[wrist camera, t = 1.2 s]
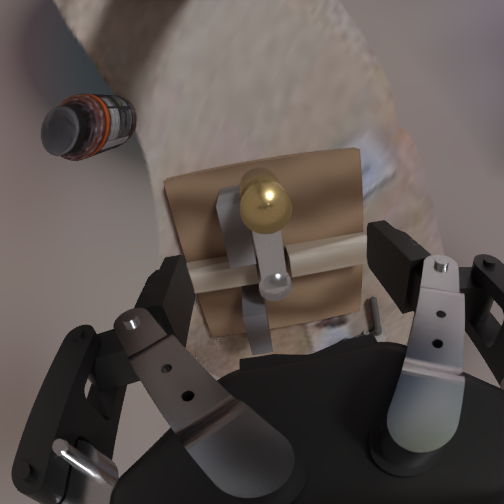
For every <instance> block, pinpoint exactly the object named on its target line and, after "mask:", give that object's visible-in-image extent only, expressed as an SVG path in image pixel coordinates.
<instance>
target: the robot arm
mask: <svg viewBox="0 0 504 504" xmlns="http://www.w3.org/2000/svg"><path fill="white" fill-rule="evenodd" d="M367 262H368V266H369V268H370V269H371V271H372V272H373V273H374V275H375V276H376V277H377V279H378V280H379V281H380V283H381V284H382V286H383V287H384V288H385V290H386V291H387V292H388V294H389V295H390V297H391V298H392V299H393V301H394V302H395V304H396V305H397V306H398V308H399V309H400V311H401V312H402V314H404V313H407V312H411V311H414V312H415V313H414V317H413V322H412V326H411V330H410V335H409V339H408V342H407V346H405V345H402V344H398V343H393V342H377V340H376V338H375V336H374V334H373V333H371V334H367V335H363V336H359V337H355V338H351V339H347V340H343V341H340V342H338V343H336V344H334V345H331V346H329V347H327V348H325V349H322V350H320V351H318V352H315V353H313V354H309V355H286V354H272V355H265V356H259V357H252V358H245V359H240V369H239V370H236V371H234V372H232V373H229V374H227V375H225V376H224V377H222V378H220V379H219V380H217V381H216V380H215V379H214V378H213V377H212V376H211V375H210V374H209V373H208V372H207V371H206V370H205V369H204V368H203V366H202V365H201V364H200V363H199V362H198V361H197V360H196V359H195V358H194V357H193V356H192V355H191V354H190V353H189V352H188V351H187V350H186V348H185V347H186V341H187V336H188V331H189V325H190V320H191V315H192V310H193V305H194V300H195V292H194V287H193V283H192V280H191V277H190V274H189V271H188V268H187V265H186V262H185V259H184V257H183V255H176V256H171V257H165V259H164V261H163V263H162V265H161V267H160V269H159V270H156V271H155V272H154V273H153V274H151V276H149V277H148V279H147V281H146V283H145V286H144V288H143V290H142V292H141V294H140V296H139V298H138V300H137V303H136V305H135V307H134V309H130V310H128V311H126V312H124V313H122V314H121V315H120V316H119V317H118V318H117V319H116V320H115V322H114V329H112V330H109V331H106V332H103V333H100V334H96V332H95V330H94V328H93V327H92V326H90V325H81V326H79V327H76V328H74V329H73V330H71V331H70V332H69V333H68V334H67V336H66V337H65V339H64V340H63V343H62V345H61V346H60V348H59V350H58V352H57V354H56V356H55V358H54V360H53V362H52V364H51V366H50V369H49V371H48V373H47V375H46V377H45V379H44V382H43V384H42V386H41V389H40V391H39V393H38V395H37V398H36V400H35V403H34V405H33V408H32V410H31V413H30V415H29V418H28V421H27V424H26V426H25V429H24V432H23V434H22V437H21V440H20V443H19V447H18V450H17V453H16V456H15V460H14V463H13V467H12V480H13V483H14V485H15V487H16V488H17V489H18V491H20V492H21V493H23V494H24V495H26V496H28V497H30V498H32V499H33V500H35V501H37V502H39V503H40V504H504V321H503V324H502V326H501V325H500V324H499V322H498V321H497V320H496V319H495V317H494V316H493V315H492V314H491V313H490V309H491V307H492V304H493V301H494V300H495V301H496V303H497V304H498V305H499V306H500V307H501V308H502V310H503V313H504V264H503V263H502V262H501V261H500V260H498V259H497V258H495V257H493V256H490V255H486V254H481V255H477V256H476V257H475V258H474V261H473V266H472V267H458V265H457V263H456V262H455V261H454V260H453V259H451V258H449V257H447V256H443V255H431V254H430V253H429V252H427V251H426V250H425V249H424V248H423V247H422V246H421V245H419V244H418V243H417V242H416V241H415V240H413V239H412V238H411V237H410V236H409V235H408V234H407V233H405V232H402V231H400V230H398V229H395V228H394V227H392V226H391V225H390V224H389V223H388V222H386V221H385V220H383V221H377V222H370V223H368V225H367ZM465 331H466V333H467V334H468V336H469V337H470V339H471V340H472V342H473V343H474V344H475V346H476V347H477V349H478V351H479V352H480V354H481V355H482V357H483V358H484V360H485V362H486V363H487V365H488V366H489V368H490V370H491V371H492V373H493V374H494V376H495V378H496V380H497V381H498V383H499V385H500V388H498V387H496V386H494V385H491V384H489V383H487V382H485V381H483V380H480V379H478V378H476V377H474V376H471V375H469V374H467V373H465V372H462V367H463V355H464V335H465ZM87 379H89V380H90V382H91V383H92V384H91V387H90V390H89V393H88V397H87V399H86V397H85V393H84V388H85V384H86V382H87ZM137 381H141V382H142V384H143V385H144V387H145V389H146V390H147V392H148V394H149V395H150V397H151V398H152V400H153V402H154V403H155V405H156V406H157V408H158V409H159V411H160V412H161V413H162V415H163V417H164V418H165V420H166V421H167V422H168V424H169V425H170V427H171V428H170V429H169V430H168V431H167V432H166V433H165V434H164V435H163V436H162V437H161V438H160V439H159V440H158V441H157V442H156V443H155V444H154V445H153V446H152V447H151V448H150V449H149V450H148V451H147V452H146V453H145V454H144V455H143V456H142V457H141V458H140V459H139V460H138V461H136V462H135V463H134V464H133V465H132V466H131V467H130V468H129V469H128V470H127V471H126V472H125V473H124V474H123V475H122V476H121V477H120V478H119V477H118V469H117V466H116V465H115V463H114V462H113V461H112V457H113V451H114V445H115V440H116V434H117V429H118V424H119V419H120V414H121V410H122V405H123V401H124V396H125V392H126V387H127V384H130V383H134V382H137Z"/></svg>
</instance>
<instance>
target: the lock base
mask: <svg viewBox="0 0 504 504" xmlns="http://www.w3.org/2000/svg"><path fill="white" fill-rule="evenodd" d="M258 167H261V168H266V169H269V170H271V171H272V172H273V173H274V174H275V175H276V177H277V178H278V180H279V182H280V183H281V185H282V186H283V188H284V190H285V191H286V193H287V195H288V196H289V198H290V200H291V203H292V215H291V218H290V220H289V222H288V223H287V225H286V226H285V227H284V228H283V229H281V235H282V243H283V250H284V258H285V265H286V271H287V272H288V274H289V276H290V279H291V282H292V290H291V292H290V294H289V295H288V296H287V297H286V298H284V299H282V300H279V301H269V300H267V299H265V298H264V297H262V295H261V294H260V291H259V283H258V280H259V277H260V275H261V274H260V268H259V263H258V257H257V252H256V247H255V241H254V236H253V231H252V230H250V229H249V228H248V227H247V226H246V225H245V224H244V222H243V220H242V218H241V214H240V181H241V179H242V177H243V176H242V174H245V173H246V172H247V171H249V170H251V169H253V168H258ZM164 186H165V189H166V193H167V197H168V201H169V204H170V208H171V211H172V215H173V218H174V222H175V225H176V229H177V232H178V236H179V239H180V242H181V246H182V249H183V252H184V255H185V259H186V262H187V264H186V265H187V268H188V271H189V274H190V277H191V280H192V283H193V287H194V292H195V293H197V295H198V298H199V301H200V304H201V307H202V310H203V313H204V316H205V318H206V321H207V324H208V327H209V330H210V332H211V335H212V337H220V336H228V335H235V334H242V333H247V336H248V340H249V344H250V347H251V351H252V355H256V354H263V353H269V352H273V349H272V341H271V334H270V329H273V328H279V327H285V326H290V325H296V324H301V323H306V322H311V321H316V320H321V319H326V318H331V317H335V316H340V315H344V314H349V313H353V312H357V311H360V303H361V288H362V267H363V264H364V263H368V262H367V236H366V234H365V233H364V232H363V193H362V173H361V158H360V149H357V148H345V149H334V150H325V151H316V152H308V153H300V154H292V155H285V156H278V157H272V158H265V159H259V160H253V161H248V162H242V163H237V164H231V165H226V166H221V167H216V168H211V169H206V170H202V171H197V172H192V173H188V174H184V175H179V176H175V177H171V178H167V179H166V180H165V181H164Z"/></svg>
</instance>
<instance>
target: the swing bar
mask: <svg viewBox="0 0 504 504" xmlns="http://www.w3.org/2000/svg"><path fill="white" fill-rule="evenodd" d="M242 176H243V177H242V179H241V181H240V214H241V218H242V220H243V222H244V224H245V225H246V226H247V227H248V228H249V229H250V230H252V231H253V236H254V241H255V247H256V252H257V257H258V263H259V268H260V274H261V275H260V277H259V280H258V283H259V291H260V294H261V295H262V297H264V298H265V299H267V300H269V301H279V300H282V299H284V298H286V297H287V296H288V295H289V294H290V292H291V290H292V282H291V279H290V276H289V274H288V272H287V271H286V265H285V258H284V250H283V243H282V235H281V229H283V228H284V227H285V226H286V225H287V223H288V222H289V220H290V218H291V215H292V203H291V200H290V198H289V196H288V195H287V193H286V191H285V190H284V188H283V186H282V185H281V183H280V182H279V180H278V178H277V177H276V175H275V174H274V173H273V172H272V171H271V170H269V169H266V168H261V167H258V168H253V169H251V170H249V171H247V172H246V173H245V174H242Z"/></svg>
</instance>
